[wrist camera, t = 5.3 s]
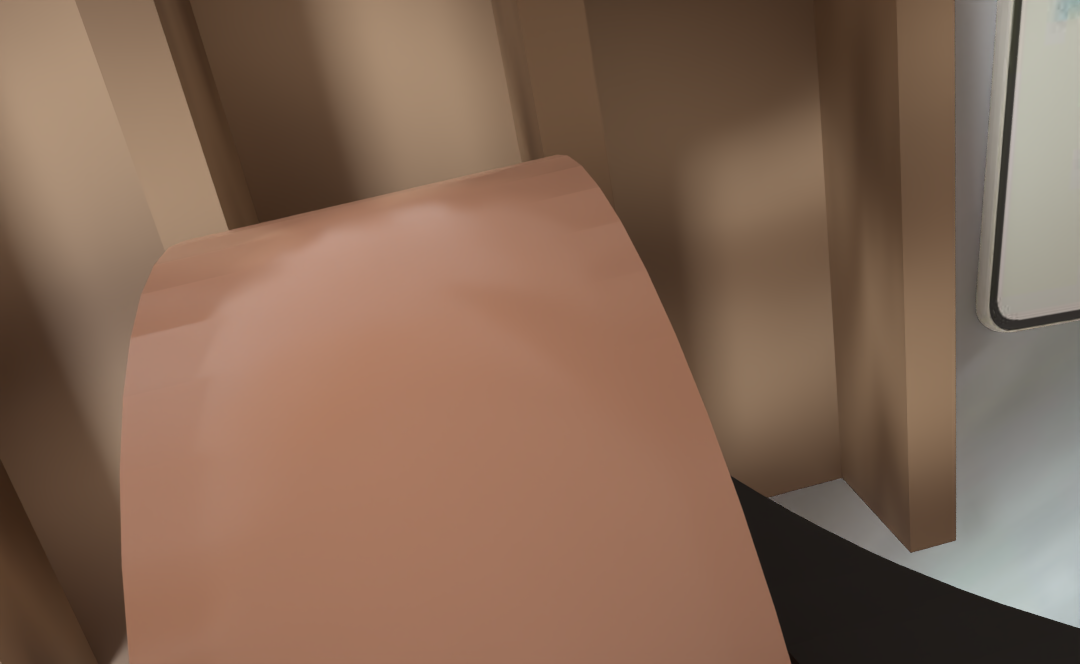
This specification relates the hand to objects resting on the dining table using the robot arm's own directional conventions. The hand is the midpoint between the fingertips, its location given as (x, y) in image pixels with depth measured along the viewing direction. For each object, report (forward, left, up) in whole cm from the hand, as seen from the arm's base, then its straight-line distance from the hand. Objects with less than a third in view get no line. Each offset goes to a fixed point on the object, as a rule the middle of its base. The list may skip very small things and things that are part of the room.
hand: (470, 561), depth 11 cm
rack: (0, 0, -10) cm, 10 cm away
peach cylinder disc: (0, 0, -3) cm, 3 cm away
